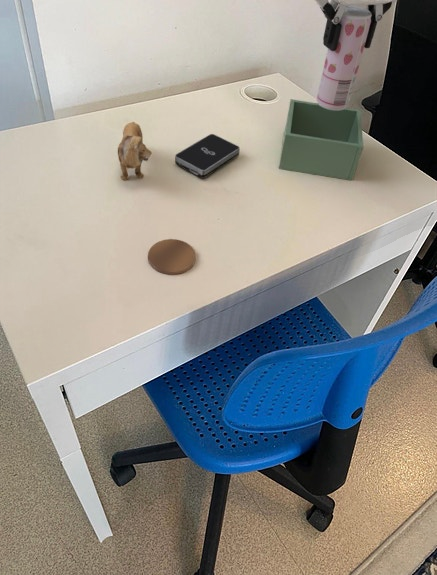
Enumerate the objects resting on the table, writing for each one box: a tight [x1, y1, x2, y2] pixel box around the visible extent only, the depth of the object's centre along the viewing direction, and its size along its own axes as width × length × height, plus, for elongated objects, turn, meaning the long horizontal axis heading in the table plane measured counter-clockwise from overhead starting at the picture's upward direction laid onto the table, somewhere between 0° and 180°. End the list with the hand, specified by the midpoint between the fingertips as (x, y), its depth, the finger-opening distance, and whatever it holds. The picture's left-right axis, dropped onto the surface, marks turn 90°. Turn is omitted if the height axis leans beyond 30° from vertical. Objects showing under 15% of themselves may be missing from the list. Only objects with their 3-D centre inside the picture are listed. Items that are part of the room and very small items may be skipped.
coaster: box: [147, 238, 197, 276], centre depth 73 cm, size 7×7×1 cm
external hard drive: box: [174, 133, 240, 179], centre depth 91 cm, size 7×11×2 cm, turn 142°
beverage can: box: [316, 5, 372, 111], centre depth 82 cm, size 6×6×15 cm
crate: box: [278, 98, 364, 181], centre depth 93 cm, size 14×14×7 cm
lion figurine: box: [117, 121, 153, 181], centre depth 85 cm, size 15×5×9 cm, turn 13°
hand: (346, 45), depth 80 cm, fingers closed on beverage can, 5 cm apart
